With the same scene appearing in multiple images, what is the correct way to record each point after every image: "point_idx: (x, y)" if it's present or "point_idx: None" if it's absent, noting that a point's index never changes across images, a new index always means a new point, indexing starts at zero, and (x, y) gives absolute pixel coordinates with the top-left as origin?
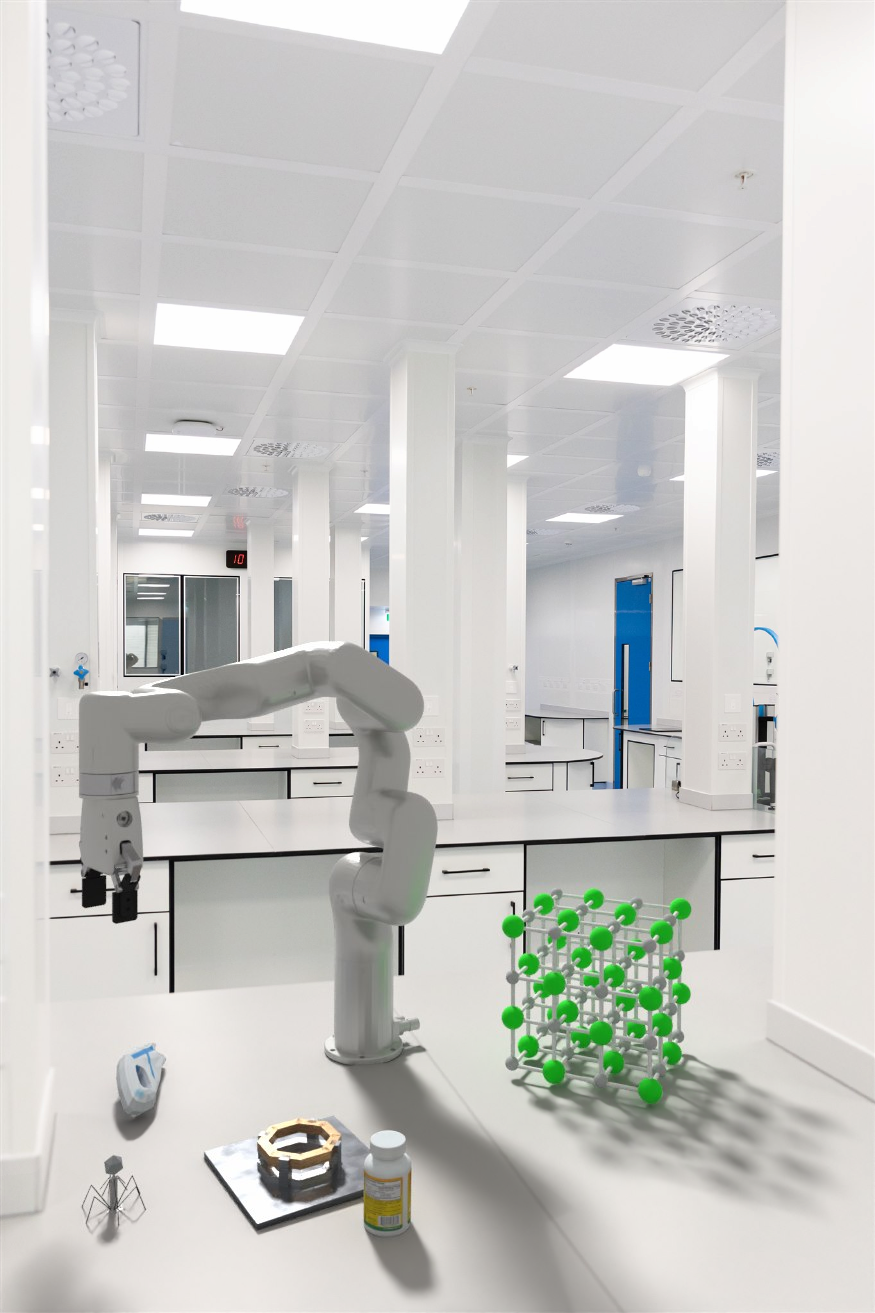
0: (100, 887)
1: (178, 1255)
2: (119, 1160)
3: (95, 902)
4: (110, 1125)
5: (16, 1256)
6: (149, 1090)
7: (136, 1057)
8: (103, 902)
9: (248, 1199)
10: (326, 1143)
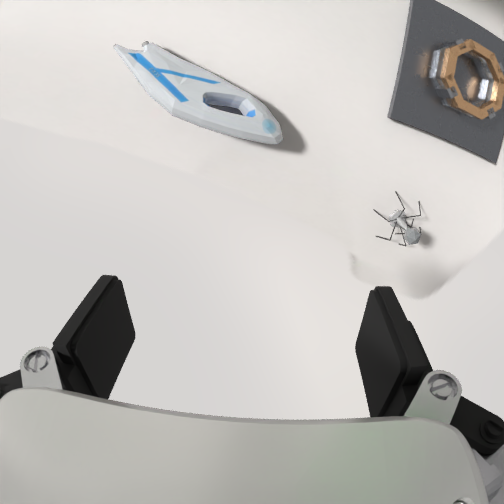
0: (98, 336)
1: (470, 213)
2: (419, 235)
3: (124, 316)
4: (252, 148)
5: None
6: (258, 107)
7: (181, 94)
8: (119, 288)
9: (473, 145)
10: (496, 73)
